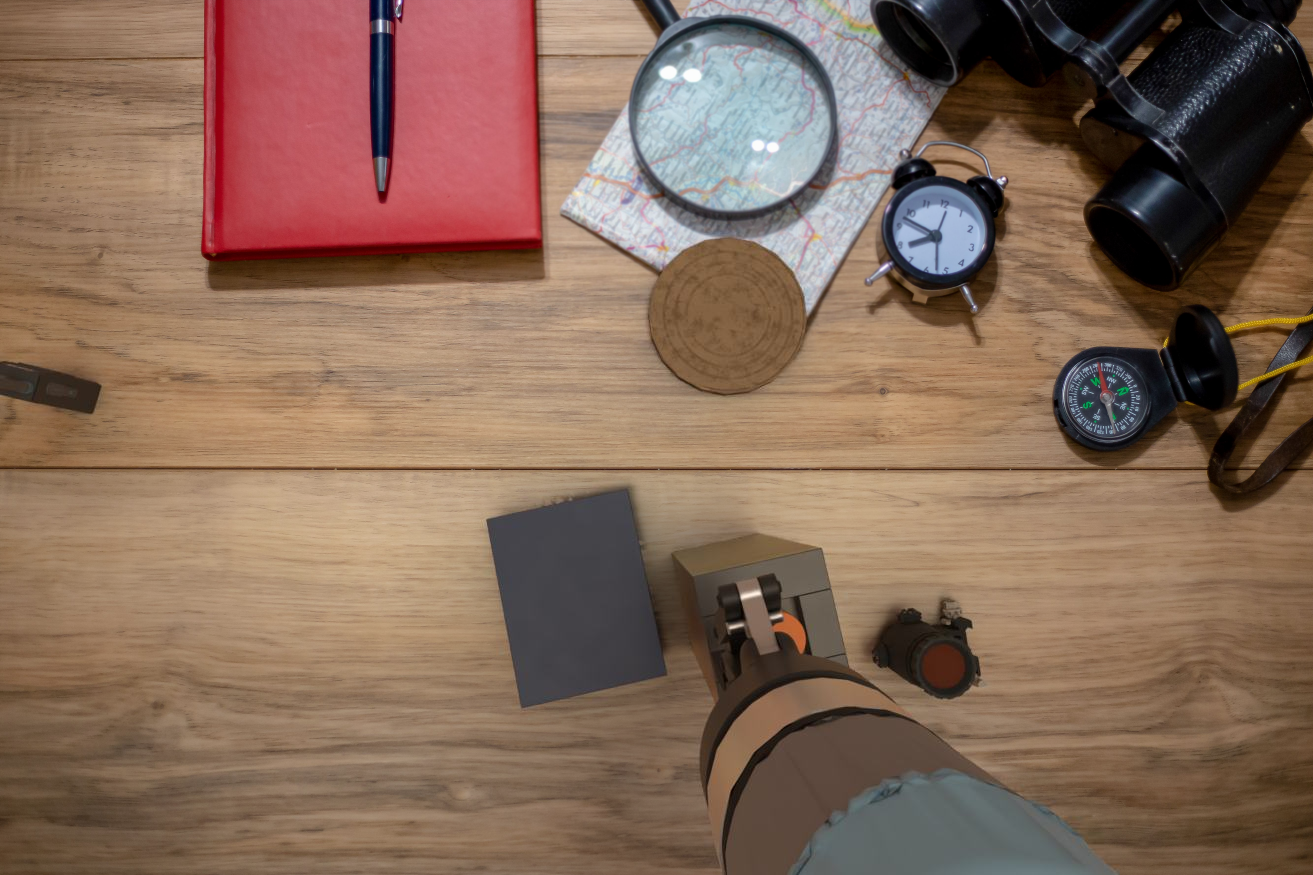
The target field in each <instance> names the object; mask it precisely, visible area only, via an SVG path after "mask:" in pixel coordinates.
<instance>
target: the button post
mask: <svg viewBox="0 0 1313 875" xmlns="http://www.w3.org/2000/svg"><path fill="white" fill-rule="evenodd" d="M823 550H824V549H823V548H822V547H819V546H815V545H810V544H807V543H802V542H798V541H793V540H790V539H785V538H782V537H781V538H780V537H777V536H772V535H768V534H765V533H759V532H758V533H753V534H748V535H743V536H739V537H735V538H731V539H726V540H721V541H716V542H712V543H708V544H704V545H699V546H695V547H690V548H685V549H681V550H680V549H679V550H675V551H672V552H671V555H672V560H673V565H674V568H675V574H676V578H677V582H678V583H677V584H678V587H679V593H680V597H681V601H682V602H681V603H682V607H683V611H684V615H685V620H686V624H687V629H688V634H689V639H690V643H691V648H692V651H693V654H694V656H695V659H696V661H697V663H698V665H699V668H700V670H701V673H702V675H703V677H704V680H705V682H706V685H707V686H708V689H709V692H710V694H711V696H712V698H713V701H714V704H716V703H717V701H718V700H719V698H720V697H721V695H722V694H723V693H724V692H723V689H722V687H721V685H720V683H719V681H718V679H717V677H716V673H715V669H714V664H713V660H712V656H711V652H714V651H718V650H722V649H724V645H723V644H720V645H719V643H718V640H717V639H716V638H714V634H713V630H712V629H713V626H714V622H713V621H714V618H715V616H716V613H717V610H718V608H719V607H718V603H717V599H716V595H718V588H717V586H721V585H725V584H730V583H735V582H738V581H742V580H747V579H751V578H755V577H758V576H763V575H767V574H771V573H774V574H775V576H776V578H777V581H778V580H779V581H780V583H781V587H782V592H781V609H782V610H785V611H786V612H788V613H789V614H791V615H792V616H794V617H795V618H796V619H797V620H798V621H799V622H800V623H801V625H802V626H803V629H804V631H805V635H806V645H805V649H804V651H803V653H802V654H807V655H813V656H818V657H822V658H826V659H829V660H832V661H835V662H838V663H840V664H843V665H845V666H847V667H849V668H850V664H849V660H848V656H847V652H846V648H845V642H844V638H843V634H842V629H841V625H840V620H839V617H838V612H837V607H836V604H835V599H834V595H833V589H832V586H831V582H830V577H829V576H830V575H829V572H828V568H827V563H826V559H825V554H824V551H823Z"/></svg>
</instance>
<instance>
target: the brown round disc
mask: <svg viewBox="0 0 1313 875" xmlns="http://www.w3.org/2000/svg"><path fill="white" fill-rule="evenodd" d="M650 298H651V299H650V303H649V308H648V309H649V310H648V314H647V315H648V323H649V331H650V338H651V342H652V344H653V346H654V348H655V350H656V352H657V354H658V357H659V359H660V360H661V363H662V364H663V365H664V366H665V367H666V368H667V369H668V370H669V371H670V372H671V373H672V374H673V375H674V376H675V377H676V378H677V380H679V381H681V382H683V383H684V384H687V385H688V386H689V387H692V388H693V389H695V390H697V391H699V392H703V393H707V394H713V395H716V396H717V395H718V396H724V397H726V396H733V395H742V394H743V395H744V394H749V393H751V392H753V391H756V390H757V389H760V388H763V387H764V386H766V385H768V384H770V383H772V382H773V381H774V380H775V379H776V378H778V377H779V375H780V374H782V373H783V372H784V371H785V370H786V369H787V368H788V367H789V366H790V365H791V364H792V363H793V361H794V359H795V358H796V356H797V353H798V351H799V350H800V348H801V346H802V344H803V343H804V338H805V332H806V326H807V320H808V314H807V306H806V300H805V293H804V291H803V289H802V287H801V285H800V283H799V281H798V278H797V277H796V274H795V273H794V271H793V270H792V269H791V267H789V265H787V264H786V262H785V261H784V260H783V259H782V258H781V257H780V256H779V255H778V254H777V253H776V252H774V251H772V250H770V249H769V248H767V247H765V246H763V245H761V244H760V243H758V242H755V241H753V240H749V239H743V238H737V237H732V236H725V237H718V238H717V237H716V238H709V239H704V240H702V241H700V242H698V243H695V244H693V245H690V246H689V247H687V248H684V249H683V250H681V251H680V252H679V253H678V254H676V256H675V257H673V259H672V260H671V261H669V263H667V264H666V265H665V266H664V268H663V270H662V272H661V273H660V275H659V277H658V278H657V280H656V282H655V284H654V286H653V288H652V293H651V297H650Z"/></svg>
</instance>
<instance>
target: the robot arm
mask: <svg viewBox="0 0 1313 875" xmlns="http://www.w3.org/2000/svg"><path fill="white" fill-rule="evenodd" d="M717 588H718V595H716V599H717V603H718V607H719V608H718V610H717V613H716V616H715V618H714V621H713V622H714V626H713V629H712V630H713V634H714V638H716V639H717V640H718V643H719V645H720V644H723V645H724V649H722V650H718V651H714V652H711V656H712V660H713V664H714V669H715V673H716V677H717V679H718V681H719V683H720V685H721V687H722V689H723V692H724V693H723V694H722V695H721V697H720V698H719V700H718V701H717V703H714V706H713V707H712V709H711V711H710V714H709V715H708V718H707V719H706V723H705V724H704V729H703V731H702V735H701V741H700V747H699V757H698V758H699V760H698V762H699V764H698V765H699V776H700V777H699V778H700V782H701V788H702V791H703V795H704V799H705V803H706V807H707V811H708V822H709V826H710V830H711V835H712V838H713V843H714V847H715V851H716V856H717V859H718V863H719V867H720V871H721V875H1120V874H1119V873H1118V872H1116V870H1115V869H1113V868H1112V867H1111V866H1110V865H1108V863H1107V862H1106V861H1104V860H1103V859H1102V858H1101V857H1100V856H1098V854H1096V853H1095V852H1094V851H1093V850H1092V848H1091V847H1090V846H1089V844H1087V842H1086V841H1085V840H1084V839H1083V836H1082V835H1080V834H1079V833H1078V832H1077V831H1076V830H1074V829H1073V828H1072V827H1071V826H1070V825H1069V824H1068V823H1066V821H1064V820H1063V819H1062V818H1061V817H1060V816H1058V815H1057V814H1056V813H1055V812H1053V811H1052V810H1051V809H1049V807H1047V806H1045V805H1044V804H1042V803H1039V802H1037V801H1035V800H1032V799H1029V798H1025V797H1024V796H1022V795H1020V794H1019V793H1018V792H1016V791H1015V790H1013V789H1012V788H1010V787H1009V786H1008V785H1006V784H1005V783H1003V782H1002V781H1000V780H999V779H997V778H996V777H995V776H993V775H991V774H990V773H988V772H987V771H986V770H985V769H983V768H982V767H980V765H977V764H976V763H974V762H973V761H972V760H971V759H968V758H967V757H966V756H965V755H963V754H961V753H960V752H959V751H958V750H956V748H954V747H953V746H951V745H950V744H948V742H947V741H945V740H944V739H942V738H941V737H940V736H939V735H938V734H936V733H935V732H934V731H932V730H931V729H929V728H928V727H926V726H925V725H924V724H922V723H921V722H920V721H919V720H917V719H916V718H915V717H913V716H912V715H911V714H910V713H909V712H907V711H906V710H905V709H904V708H902V707H901V706H900V705H899V704H898V703H897V702H896V701H894V699H893V698H892V697H890V696H889V695H888V694H887V693H885V692H884V691H883V690H882V689H880V688H879V687H878V686H876V684H874V683H872V682H871V681H870V680H868V679H867V678H866V677H865V676H863V675H862V674H860V673H859V672H857V671H856V670H855V669H852V668H851V667H850V666H849V667H847V666H845V665H843V664H840V663H838V662H835V661H832V660H829V659H826V658H822V657H818V656H813V655H807V654H801V653H800V652H799V650H798V648H797V645H796V643H795V641H794V640H793V638H792V637H791V636H790V635H789V634H787V633H785V632H781V631H776V632H775V633H774V630H773V626H774V625H775V624H777V623H781V622H784V615H783V612H782V610H781V592H782V587H781V583H780V581H779V580H778V581H777V578H776V576H775V574H774V573H771V574H767V575H763V576H758V577H755V578H751V579H747V580H742V581H738V582H735V583H730V584H725V585H721V586H717Z"/></svg>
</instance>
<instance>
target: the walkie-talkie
mask: <svg viewBox="0 0 1313 875" xmlns="http://www.w3.org/2000/svg"><path fill="white" fill-rule="evenodd" d="M101 390H102V384H100V383H98V382H95V381H91V380H87V379H84V378H79V377H76V376H75V375H73V374H69V373H65V372H62V371H57V370H54V369H50V368H46V367H42V366H38V365H34V364H30V363H24V362H21V361H18V362H15V361H8V360H2V361H1V360H0V396H3V397H8V398H10V399H14V400H15V399H16V400H20V401H23V402H28V403H31V404H37V405H43V406H48V407H54V408H58V409H62V410H63V409H64V410H69V411H72V412H73V411H74V412H77V413H82V414H87V415H93V414H94V413H95V409H96V406H97V402H98V400H99V396H100V393H101Z"/></svg>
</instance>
